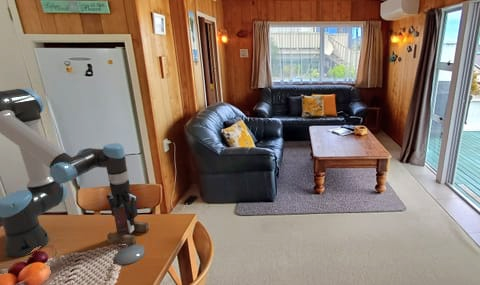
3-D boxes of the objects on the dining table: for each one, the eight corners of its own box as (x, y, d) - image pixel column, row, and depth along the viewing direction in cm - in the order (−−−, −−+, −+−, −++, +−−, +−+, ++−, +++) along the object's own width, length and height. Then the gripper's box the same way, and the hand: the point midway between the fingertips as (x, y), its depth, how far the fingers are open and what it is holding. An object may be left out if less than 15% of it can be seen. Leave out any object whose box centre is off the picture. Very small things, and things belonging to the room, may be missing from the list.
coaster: (109, 262, 111) (108, 260, 111) (126, 245, 121) (126, 243, 121) (134, 266, 108) (133, 264, 108) (150, 248, 118) (149, 246, 118)
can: (128, 238, 124) (123, 209, 120) (114, 237, 125) (109, 208, 121) (135, 230, 129) (131, 202, 125) (123, 229, 131) (118, 201, 127)
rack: (108, 243, 123) (107, 235, 122) (125, 227, 134) (124, 220, 133) (133, 246, 120) (132, 238, 119) (148, 230, 131) (147, 222, 130)
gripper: (95, 183, 118) (105, 233, 125) (131, 186, 114) (139, 238, 121) (108, 176, 125) (116, 224, 132) (142, 178, 121) (149, 228, 128)
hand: (127, 230), depth 126 cm, fingers open, 3 cm apart
